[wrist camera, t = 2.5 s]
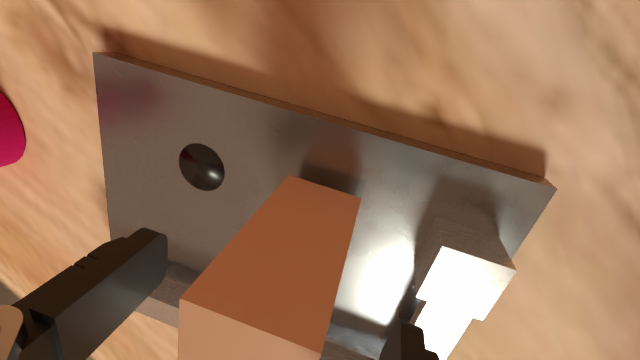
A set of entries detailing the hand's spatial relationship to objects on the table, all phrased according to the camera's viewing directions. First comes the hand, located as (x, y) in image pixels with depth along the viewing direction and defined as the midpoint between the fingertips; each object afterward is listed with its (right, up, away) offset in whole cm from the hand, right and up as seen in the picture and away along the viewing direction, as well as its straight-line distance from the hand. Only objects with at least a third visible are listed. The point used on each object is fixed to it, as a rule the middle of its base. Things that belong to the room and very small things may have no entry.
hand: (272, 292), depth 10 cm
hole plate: (-1, 0, +9) cm, 9 cm away
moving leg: (+1, -1, +7) cm, 7 cm away
